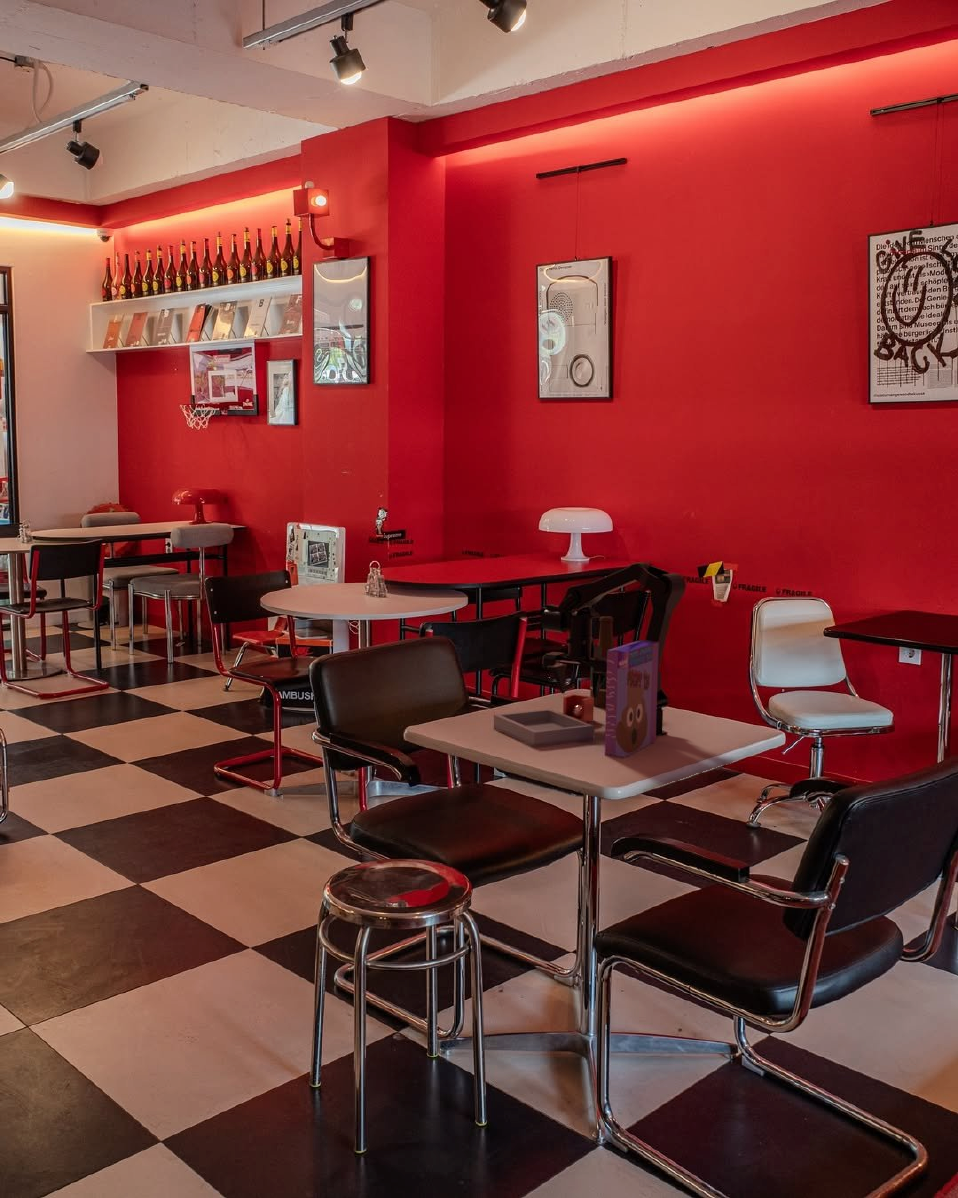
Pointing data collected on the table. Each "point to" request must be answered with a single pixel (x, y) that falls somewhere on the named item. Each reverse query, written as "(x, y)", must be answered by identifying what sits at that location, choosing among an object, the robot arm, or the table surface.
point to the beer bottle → (606, 644)
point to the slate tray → (543, 727)
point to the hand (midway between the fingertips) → (579, 695)
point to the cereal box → (631, 698)
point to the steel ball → (577, 710)
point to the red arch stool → (584, 701)
